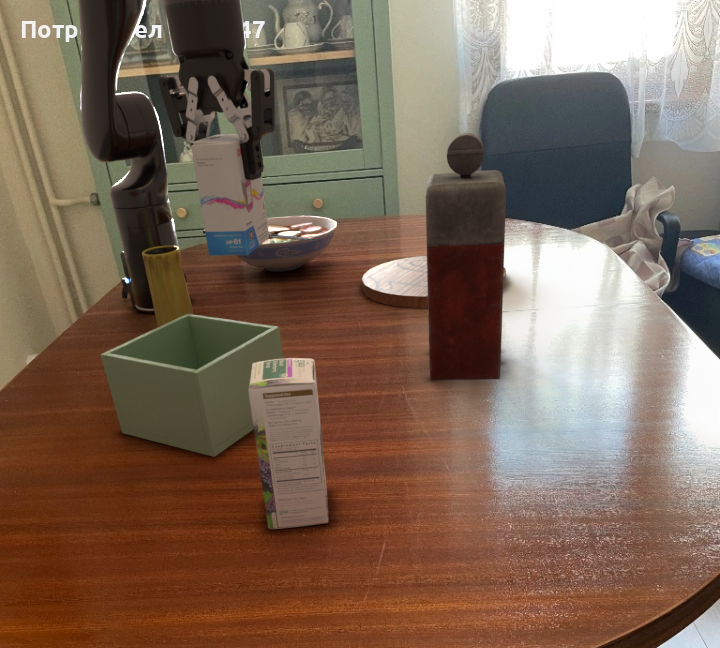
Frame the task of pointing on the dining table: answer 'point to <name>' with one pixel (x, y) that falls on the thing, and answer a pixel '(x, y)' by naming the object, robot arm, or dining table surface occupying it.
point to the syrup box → (289, 441)
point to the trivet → (400, 282)
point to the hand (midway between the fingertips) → (230, 178)
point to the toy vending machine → (465, 265)
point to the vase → (167, 283)
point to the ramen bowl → (291, 242)
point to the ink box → (228, 197)
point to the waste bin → (189, 381)
